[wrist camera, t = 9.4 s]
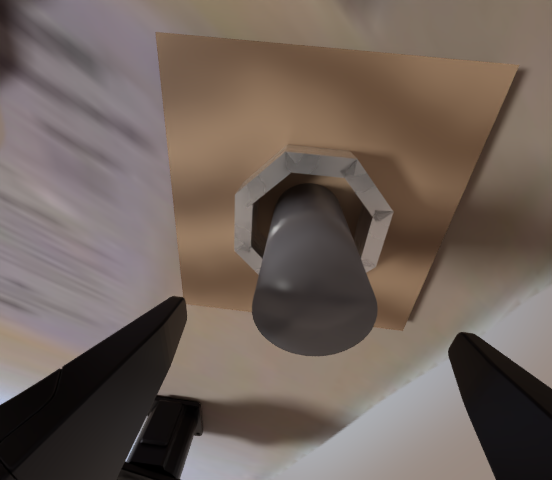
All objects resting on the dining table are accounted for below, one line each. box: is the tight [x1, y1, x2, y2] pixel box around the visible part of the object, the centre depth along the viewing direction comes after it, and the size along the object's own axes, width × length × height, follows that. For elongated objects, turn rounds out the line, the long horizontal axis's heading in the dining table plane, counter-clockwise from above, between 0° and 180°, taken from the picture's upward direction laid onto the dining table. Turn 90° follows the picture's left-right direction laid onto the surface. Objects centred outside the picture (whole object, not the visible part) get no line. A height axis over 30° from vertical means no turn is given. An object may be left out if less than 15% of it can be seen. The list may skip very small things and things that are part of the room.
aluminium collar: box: [234, 144, 394, 275], centre depth 16 cm, size 9×9×2 cm
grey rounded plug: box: [252, 183, 378, 356], centre depth 13 cm, size 4×4×9 cm
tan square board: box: [156, 32, 519, 331], centre depth 18 cm, size 18×18×1 cm
